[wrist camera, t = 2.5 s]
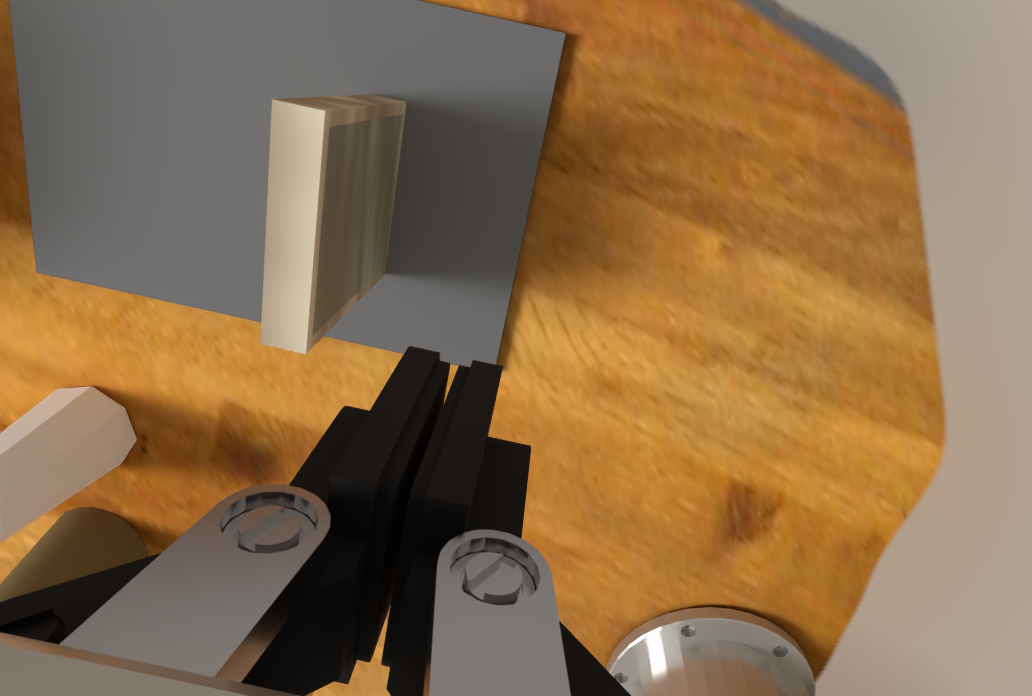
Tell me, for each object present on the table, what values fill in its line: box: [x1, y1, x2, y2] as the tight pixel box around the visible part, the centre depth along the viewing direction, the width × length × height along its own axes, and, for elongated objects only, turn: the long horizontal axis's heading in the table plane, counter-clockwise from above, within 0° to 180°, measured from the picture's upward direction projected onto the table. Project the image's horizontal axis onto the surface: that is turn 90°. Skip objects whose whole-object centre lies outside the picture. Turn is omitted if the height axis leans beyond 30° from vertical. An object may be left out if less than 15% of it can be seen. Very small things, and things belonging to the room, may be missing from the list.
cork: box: [0, 508, 147, 602], centre depth 35 cm, size 6×6×11 cm
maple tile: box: [260, 94, 407, 354], centre depth 25 cm, size 2×8×10 cm, turn 168°
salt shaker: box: [0, 386, 137, 542], centre depth 32 cm, size 5×5×11 cm
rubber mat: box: [9, 0, 566, 367], centre depth 30 cm, size 24×16×1 cm, turn 78°
